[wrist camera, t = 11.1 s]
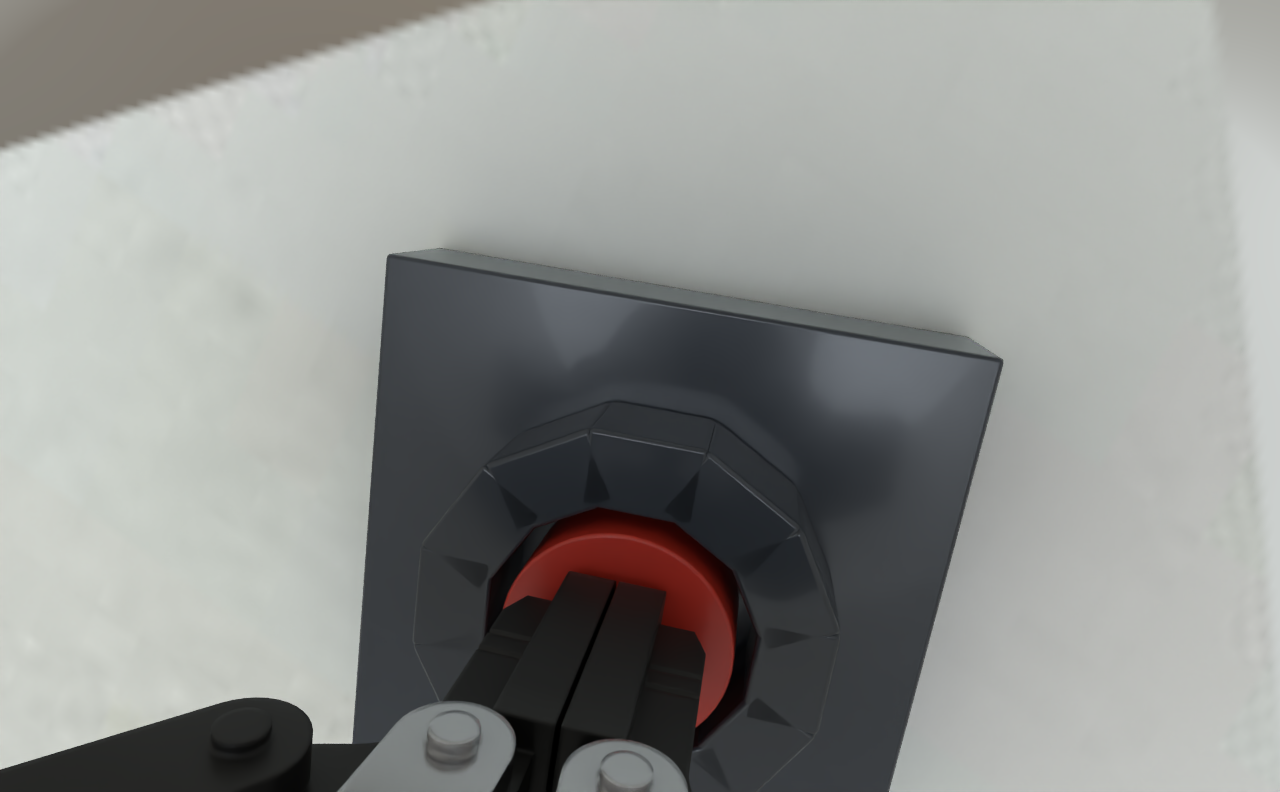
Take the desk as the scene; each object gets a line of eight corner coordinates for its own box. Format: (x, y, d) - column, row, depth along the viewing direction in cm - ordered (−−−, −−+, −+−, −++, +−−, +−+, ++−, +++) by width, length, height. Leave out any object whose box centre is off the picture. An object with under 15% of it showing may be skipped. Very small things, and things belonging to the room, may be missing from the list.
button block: (971, 337, 14) (1045, 384, 10) (852, 806, 17) (875, 984, 13) (437, 247, 15) (327, 260, 12) (399, 697, 18) (297, 831, 14)
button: (756, 516, 13) (754, 562, 11) (718, 707, 14) (712, 775, 12) (544, 474, 14) (512, 511, 12) (520, 661, 14) (487, 721, 13)
